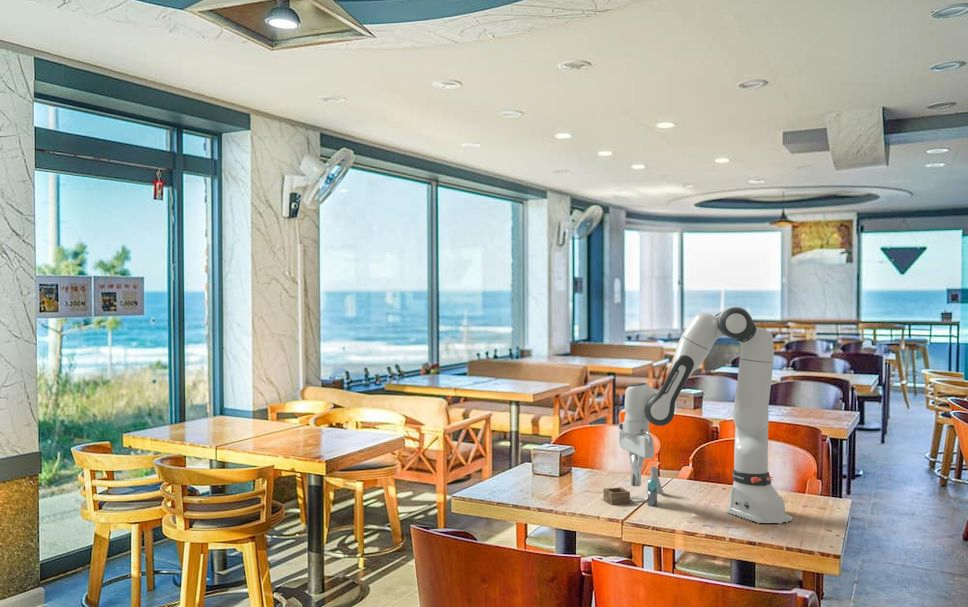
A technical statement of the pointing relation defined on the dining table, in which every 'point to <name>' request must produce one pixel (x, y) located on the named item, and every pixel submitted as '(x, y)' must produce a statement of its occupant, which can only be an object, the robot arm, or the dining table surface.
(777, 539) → the dining table surface
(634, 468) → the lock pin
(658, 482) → the flask
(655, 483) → the small bottle
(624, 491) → the box
